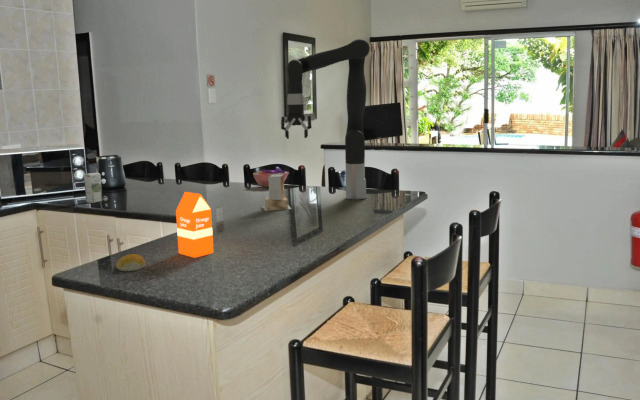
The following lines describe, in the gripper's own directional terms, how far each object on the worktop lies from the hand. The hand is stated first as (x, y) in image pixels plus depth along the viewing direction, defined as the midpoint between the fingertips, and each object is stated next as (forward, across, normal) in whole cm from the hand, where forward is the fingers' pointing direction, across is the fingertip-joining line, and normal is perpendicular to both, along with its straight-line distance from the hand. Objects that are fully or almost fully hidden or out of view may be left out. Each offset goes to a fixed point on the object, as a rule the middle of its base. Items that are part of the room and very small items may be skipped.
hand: (296, 138), depth 277 cm
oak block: (+30, +13, +17) cm, 36 cm away
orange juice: (+30, +49, +84) cm, 102 cm away
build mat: (+30, +13, +17) cm, 37 cm away
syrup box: (+30, +98, -31) cm, 107 cm away
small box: (+26, +13, +17) cm, 33 cm away
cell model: (+30, +7, -49) cm, 58 cm away
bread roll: (+30, +68, +95) cm, 121 cm away
